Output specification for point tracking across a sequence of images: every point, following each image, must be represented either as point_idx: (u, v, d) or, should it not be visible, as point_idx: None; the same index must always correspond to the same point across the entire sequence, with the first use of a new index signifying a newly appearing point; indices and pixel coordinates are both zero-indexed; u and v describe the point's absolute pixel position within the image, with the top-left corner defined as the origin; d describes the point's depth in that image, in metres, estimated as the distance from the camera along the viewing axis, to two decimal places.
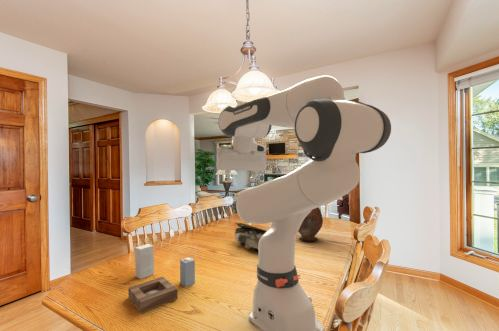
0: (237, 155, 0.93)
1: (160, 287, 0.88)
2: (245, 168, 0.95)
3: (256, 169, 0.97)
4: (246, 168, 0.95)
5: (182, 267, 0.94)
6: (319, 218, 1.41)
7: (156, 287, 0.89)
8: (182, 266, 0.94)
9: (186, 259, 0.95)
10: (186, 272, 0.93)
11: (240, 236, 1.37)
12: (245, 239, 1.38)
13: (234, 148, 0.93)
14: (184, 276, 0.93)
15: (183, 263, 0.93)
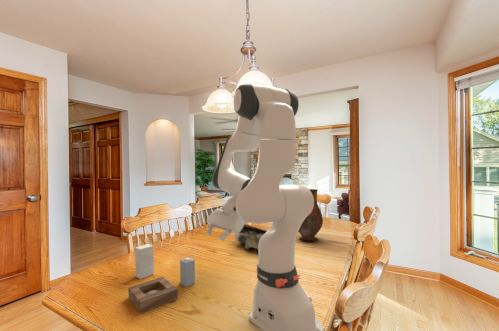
0: (221, 213, 1.09)
1: (160, 287, 0.88)
2: (220, 223, 1.04)
3: (226, 226, 1.01)
4: (220, 224, 1.04)
5: (182, 267, 0.94)
6: (319, 218, 1.41)
7: (156, 287, 0.89)
8: (182, 266, 0.94)
9: (186, 259, 0.95)
10: (186, 272, 0.93)
11: (240, 236, 1.37)
12: (245, 239, 1.38)
13: None
14: (184, 276, 0.93)
15: (183, 263, 0.93)
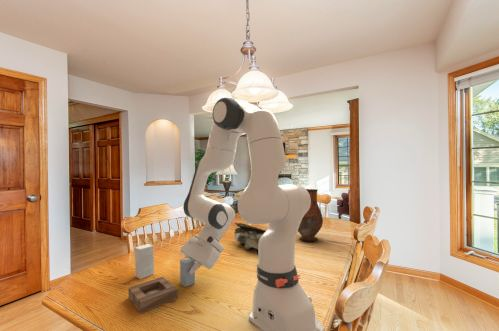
0: (195, 243, 1.01)
1: (160, 287, 0.88)
2: (192, 256, 0.96)
3: (199, 260, 0.92)
4: (193, 256, 0.95)
5: (182, 267, 0.94)
6: (319, 218, 1.41)
7: (156, 287, 0.89)
8: (182, 266, 0.94)
9: (186, 259, 0.95)
10: (186, 272, 0.93)
11: (240, 236, 1.37)
12: (245, 239, 1.38)
13: None
14: (184, 276, 0.93)
15: (183, 263, 0.93)
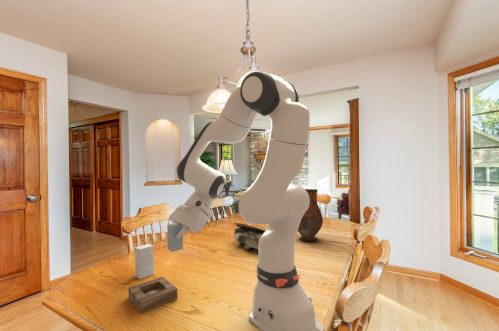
0: (184, 209, 0.97)
1: (160, 287, 0.88)
2: (180, 221, 0.92)
3: (186, 224, 0.88)
4: (181, 221, 0.92)
5: (169, 231, 0.90)
6: (319, 218, 1.41)
7: (156, 287, 0.89)
8: (169, 230, 0.90)
9: (173, 224, 0.91)
10: (173, 236, 0.89)
11: (240, 236, 1.37)
12: (244, 239, 1.38)
13: None
14: (171, 241, 0.89)
15: (170, 227, 0.89)
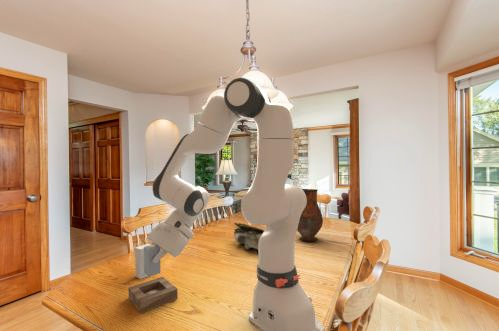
0: (163, 229, 0.90)
1: (160, 287, 0.88)
2: (158, 243, 0.85)
3: (164, 247, 0.82)
4: (159, 243, 0.85)
5: (146, 254, 0.83)
6: (319, 218, 1.41)
7: (156, 287, 0.89)
8: (145, 253, 0.84)
9: (150, 246, 0.84)
10: (149, 260, 0.82)
11: (240, 236, 1.37)
12: (244, 239, 1.37)
13: None
14: (147, 265, 0.82)
15: (146, 250, 0.83)
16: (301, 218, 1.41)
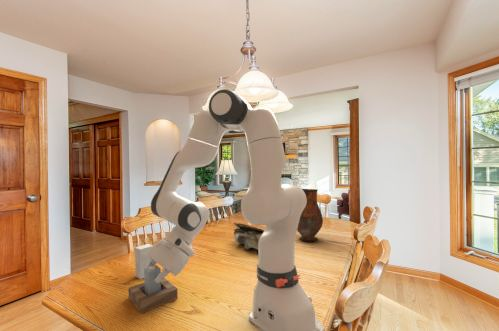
0: (164, 246, 0.90)
1: None
2: (158, 260, 0.85)
3: (164, 266, 0.82)
4: (159, 261, 0.85)
5: (146, 276, 0.83)
6: (319, 218, 1.41)
7: None
8: (145, 275, 0.84)
9: (151, 268, 0.84)
10: (150, 282, 0.82)
11: (240, 236, 1.37)
12: (244, 239, 1.37)
13: None
14: (148, 287, 0.82)
15: (147, 272, 0.83)
16: (301, 218, 1.41)
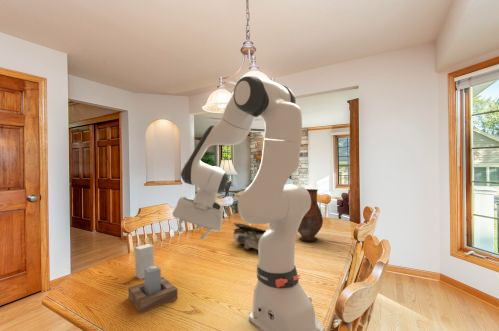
0: (193, 207, 1.01)
1: None
2: (197, 221, 0.98)
3: (208, 226, 0.98)
4: (198, 222, 0.98)
5: (146, 276, 0.83)
6: (319, 218, 1.41)
7: None
8: (146, 275, 0.84)
9: (151, 268, 0.84)
10: (150, 283, 0.82)
11: (239, 236, 1.36)
12: (244, 240, 1.37)
13: (193, 201, 1.02)
14: (148, 287, 0.82)
15: (147, 272, 0.83)
16: None
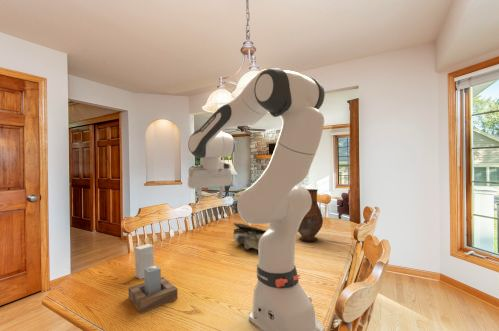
0: (207, 173, 1.03)
1: None
2: (214, 185, 1.05)
3: (223, 185, 1.09)
4: (215, 184, 1.06)
5: (146, 276, 0.83)
6: (319, 218, 1.41)
7: None
8: (146, 275, 0.84)
9: (151, 268, 0.84)
10: (150, 283, 0.82)
11: (239, 236, 1.36)
12: (244, 240, 1.37)
13: (204, 167, 1.02)
14: (148, 287, 0.82)
15: (147, 272, 0.83)
16: None
